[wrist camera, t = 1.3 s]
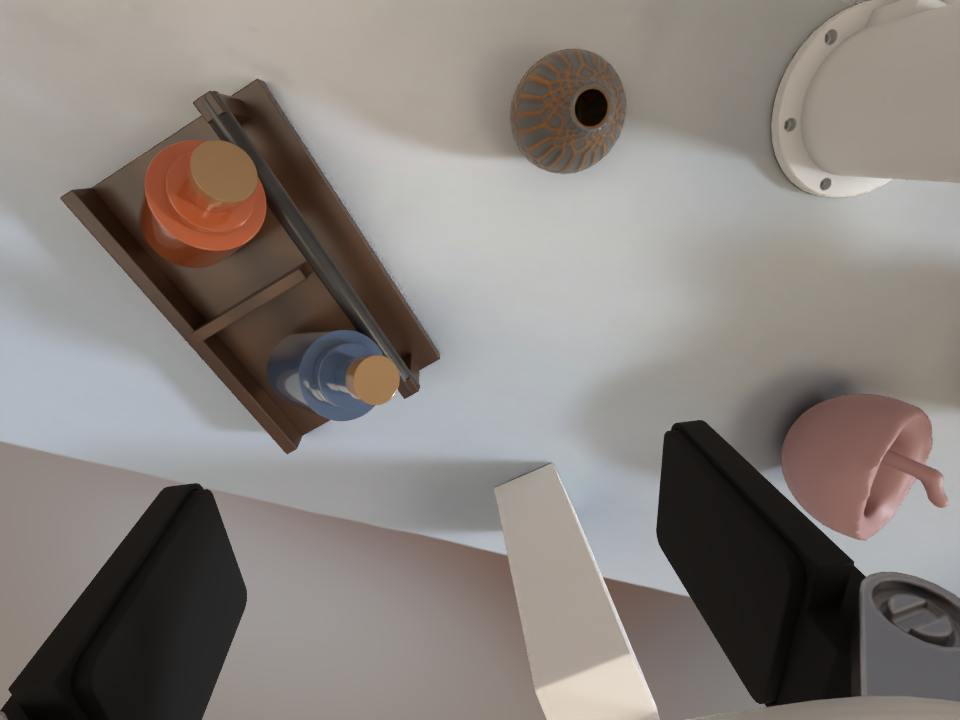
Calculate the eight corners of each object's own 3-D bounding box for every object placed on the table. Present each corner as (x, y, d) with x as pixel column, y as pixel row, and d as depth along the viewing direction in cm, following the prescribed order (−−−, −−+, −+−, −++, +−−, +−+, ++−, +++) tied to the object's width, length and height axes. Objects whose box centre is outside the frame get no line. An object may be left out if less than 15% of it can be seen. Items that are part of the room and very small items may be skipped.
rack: (263, 80, 32) (229, 65, 26) (439, 353, 40) (442, 384, 35) (91, 193, 33) (25, 202, 28) (296, 433, 42) (277, 475, 36)
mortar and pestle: (862, 470, 49) (980, 556, 39) (747, 490, 49) (835, 583, 38) (886, 361, 45) (1027, 426, 34) (758, 383, 44) (861, 454, 34)
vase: (563, 190, 36) (603, 201, 28) (484, 135, 34) (502, 130, 26) (621, 101, 34) (681, 85, 26) (540, 37, 32) (578, -2, 24)
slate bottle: (314, 316, 37) (386, 307, 27) (357, 375, 39) (439, 386, 29) (249, 363, 34) (303, 372, 24) (299, 423, 36) (368, 453, 26)
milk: (493, 487, 46) (544, 750, 26) (553, 461, 45) (653, 709, 25) (517, 532, 48) (582, 807, 28) (575, 508, 48) (683, 770, 27)
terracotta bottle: (200, 164, 32) (237, 85, 22) (257, 240, 34) (314, 199, 24) (115, 205, 29) (115, 136, 20) (182, 284, 32) (213, 259, 22)
